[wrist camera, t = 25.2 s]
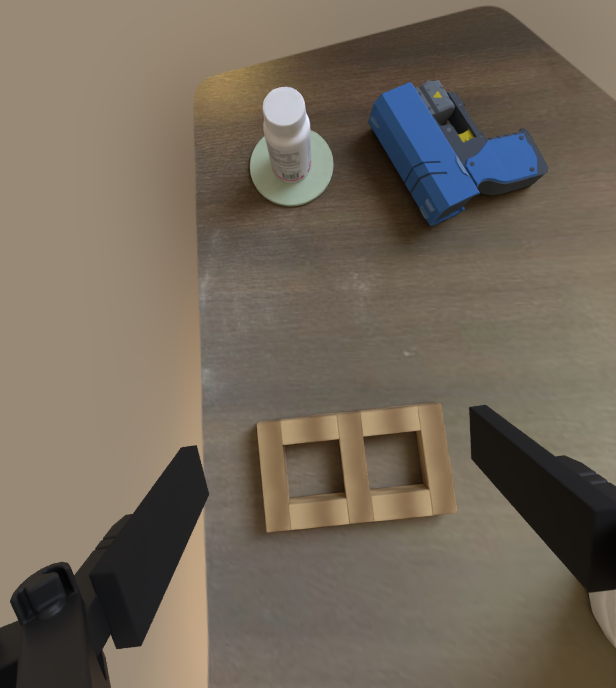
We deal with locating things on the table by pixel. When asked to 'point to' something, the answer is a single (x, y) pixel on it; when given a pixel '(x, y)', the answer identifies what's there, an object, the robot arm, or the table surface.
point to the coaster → (299, 190)
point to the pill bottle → (287, 134)
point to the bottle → (605, 612)
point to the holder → (356, 468)
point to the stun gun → (449, 150)
